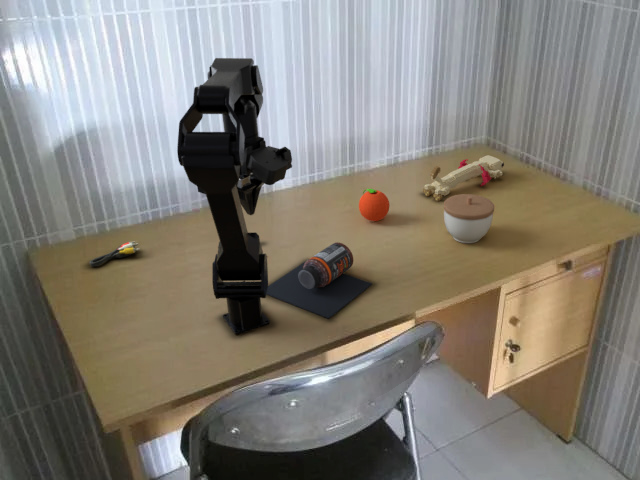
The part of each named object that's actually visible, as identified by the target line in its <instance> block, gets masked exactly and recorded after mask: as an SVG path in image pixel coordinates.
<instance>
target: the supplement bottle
mask: <svg viewBox="0 0 640 480" xmlns="http://www.w3.org/2000/svg"><path fill="white" fill-rule="evenodd" d="M305 261H306V262H305ZM305 261H304V262H305V264H304V266H303V270H301V271H300V272H299V275H298V277H299V281H300V283H301V284H302V285H303V286H304V287H305V288H307V289H313V288H314V287H324V286H326V285H327V284H329V283H330V282H332V281H333V280H334V279H336V278H337V277H339V276H340V275H341V274H343V273H344V274H345V273H346V272H347V271H349V270H350V269H351V268H352V267H353V265H354V255H353V253H352V251H351V249H350V248H349V247H348V246H347V245H346V244H345V243H342V242H339V241H338V242H333V243H332V244H330V245H328V246H327V247H325V248H324V249H322V250H320V251H319V252H318V253H316V254H315V255H312V257H310V258H308V259H307V260H305Z"/></svg>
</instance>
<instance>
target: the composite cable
mask: <svg viewBox="0 0 640 480" xmlns="http://www.w3.org/2000/svg"><path fill="white" fill-rule="evenodd" d="M135 242H136V241H135V240H134V241H127V242H125V243H123V244H121V245H119V246H118V247H117V248H115V249H114V250H113V251H110V252H109V253H106V254H103V255H101V256H97V257H95V258H93V259H91V260H90V261H89V265H90V267H98V266H100V265H102V264H103V263H104V264H105V262H107V261H109V260H112V259H117V258H118V259H119V258H120V259H121V258H122V259H123V258H126V257H130V256H132V255H133V254H134V253H136V252H138V251H140V250H141V249H140V248H135V247H136V246H137V247H138V246H139V243H138V242H137V243H135Z"/></svg>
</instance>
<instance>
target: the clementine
mask: <svg viewBox="0 0 640 480" xmlns="http://www.w3.org/2000/svg"><path fill="white" fill-rule="evenodd" d="M358 211H359V212H360V214H361V216H362V217H363V218H364V219H366V220H368V221H370V222H379V221H381V220H383V219H385V217H387V215H388V213H389V211H390V200H389V198H388V196H387V195H386V194H385V193H384V192H382V191H380V190H378V189H373V188H367V189H364V190H363V191H362V195H361V197H360V198H359V201H358Z"/></svg>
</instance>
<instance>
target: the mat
mask: <svg viewBox="0 0 640 480" xmlns="http://www.w3.org/2000/svg"><path fill="white" fill-rule="evenodd" d="M306 261H307V260H305V261H303V262H302V263H301V264H299V265H297V266H296V267H294V268H293V269H292V270H290V271H289V272H287V273H285V274H284V275H283V276H281V277H280V278H278V279H276V280H275V281H274V282H271V283H270V284H268V288H267V293H266V296H268V297H271V298H273V299H276V300H279V301H282V302H284V303H286V304H289V305H291V306H294V307H296V308H299V309H301V310H304V311H306V312H308V313H311V314H314V315H317V316H320V317H322V318H324V319H327V320H330V319H331V318H332V317H333V316H335V315H336V314H337V313H339V312H340V311H341V310H342V309H344V308H345V307H347V305H349V304H350V303H351V302H353V301H354V300H355V299H356V298H358V297H359V296H360V295H362V294H363V293H364V292H365V291H366V290H368V289H369V288H370V287H371V286H373V283H372V282H369V281H367V280H364V279H361V278H359V277H356V276H353V275H351V274H347V273H345V272H344V273H343V274H341V275H340V276H339V277H337V278H336V279H334V280H333V281H332V282H330V283H329V284H327V285H326V286H324V287H314V288H313V289H307V288H305V287H304V286H303V285H302V284H301V283H300V281H299V277H298V275H299V272H300V271H301V270H303V266H304V264H305V262H306Z"/></svg>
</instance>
